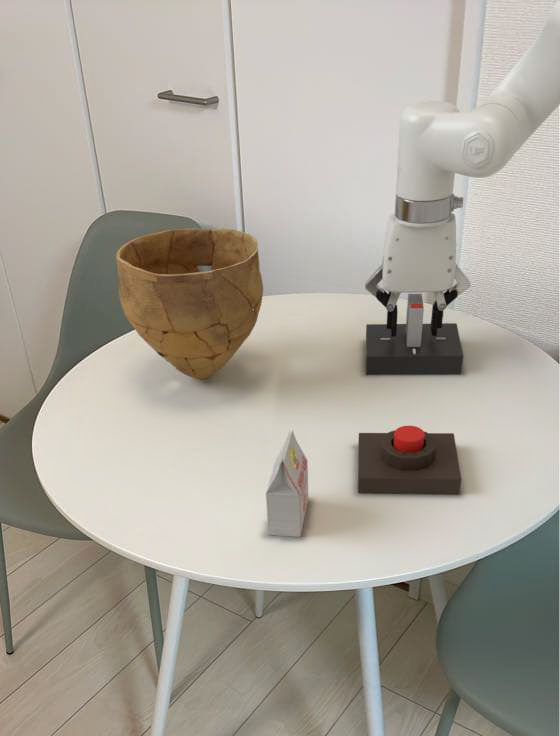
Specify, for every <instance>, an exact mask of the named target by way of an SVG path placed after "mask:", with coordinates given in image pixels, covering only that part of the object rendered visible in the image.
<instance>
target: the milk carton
mask: <svg viewBox="0 0 560 736" xmlns="http://www.w3.org/2000/svg"><path fill="white" fill-rule="evenodd" d="M308 465H309V464H308V458H307V457H306V455H305V453H304V452H303V450H302V447H301V446H300V445H299V442H298V441H297V438H296V436H295V432H294V429H292V430H290V429H289V430H288V434H287V436H286V439H285V441H284V443H283V445H282V447H281V448H280V450H279V452H278V454H277V455H276V457H275V460H274V465H273V467H272V472H271V475H270V478H269V482H268V484H267V488H266V492H265V500H266V516H267V530H268V536H279V537H293V538H302V532H303V527H304V523H305V519H306V514H307V509H308V505H309V469H308V468H309V467H308Z"/></svg>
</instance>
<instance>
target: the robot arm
mask: <svg viewBox="0 0 560 736" xmlns="http://www.w3.org/2000/svg"><path fill="white" fill-rule="evenodd" d="M559 106H560V0H557V1H556V3H555V4H554V6H553V7H552V8H551V10H550V11H549V13H548V15H547V16H546V19H545V21H544V23H543V25H542V28H541V30H540V31H539V32H538V34H537V36H536V38H535V39H534V41H533V42H532V43H531V45H529V47H528V48H527V50H526V51H525V52H524V54H523V55H522V56H521V57H520V58H519V60H518V61H517V62H516V63H515V65H514V66H513V67H512V68H511V69H510V71H508V73H507V74H506V75H505V76H504V77H503V78H502V80H501V81H500V82H499V83H498V84H497V86H496V87H495V88H494V89H493V90H492V92H490V94H489V95H488V96H487V97H486V98H485V100H483V101H482V102H480V104H479V105H478V106H477V107H475V108H473V109H470V110H467V111H463V112H461V111H460V110H459V108H458V107H457V106H456V105H455V104H453V103H451V102H448V101H438V100H437V101H436V100H428V101H419V102H415V103H412V104H410V105H408V106H406V107H405V108H404V109H403V111H402V112H401V114H400V117H399V127H398V129H399V130H398V147H397V164H396V165H397V166H396V167H397V168H396V182H395V183H396V186H395V203H394V213H391V214H390V215H389V217H388V220H387V224H386V228H385V229H386V230H385V235H384V242H383V252H382V261H381V262H382V263H381V264H380V266H379V267H377V269H376V270H375V271H374V272H373V273H372V274H371V275H370V276H369V278H368V279H367V280H366V281H364V282H365V283H364V289H365V290H366V291H367V292H369V294H371V295H372V296H373V297H375V298H376V300H377V301H378V302H379V303H380V304H381V305H382V306H383V307H385V309H386V324H387V329H391V337H395V336H396V330H397V324H398V304H397V303H398V300H399V298H400V296H401V293H402V294H403V293H433V294H434V297H435V301H434V302H433V304H432V307H431V319H430V324H431V334H432V335H433V336H437V328H442V323H443V321H444V320H443V319H444V311H445V310H446V309H447V307H448V306H449V305H450V304H451V303H452V302H454V301H455V300H456V299H457V298H458V296H459V295H461V294H463V293H464V292H465V291H467V290H468V289H469V288H470V287H471V281H470V279H469V278H468V276H467V275H466V274H465V272H464V271H463V270H462V269H461V267H460V266H459V265H458V264H457V263H456V260H457V220H456V215H455V213H453V212H454V210H457V209H462V208H463V206H464V197H463V196H459V195H458V196H457V195H455V193H454V186H455V178H456V177H455V176H456V174H457V175H461V176H465V177H469V178H475V179H476V178H479V179H480V178H481V179H482V178H488V177H491V176H494V175H495V174H497V173H498V172H500V171H501V170H503V168H505V166H506V165H507V164H508V163H509V162H510V160H511V159H512V158H513V157H514V156H515V154H516V153H517V152H518V151H519V150H520V149H521V148H522V147H523V146H524V144H525V143H526V142H527V141H528V140H529V139H530V137H531V136H533V134H534V133H535V132H536V131H537V130H538V129H539V128H540V127H541V125H542V124H543V123H545V121H546V120H547V119H548V118H549V117H550V116H551V115H552V114H553V113H554V111H555V110H556V109H557V108H558V107H559ZM381 281H382V287H380V286H379V285H378V284H379V283H380V282H381ZM455 281H456V283H455V284H454V282H455Z"/></svg>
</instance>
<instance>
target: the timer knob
mask: <svg viewBox="0 0 560 736" xmlns="http://www.w3.org/2000/svg"><path fill="white" fill-rule="evenodd" d="M406 305H407V306H406V318H405V324H406V341H407V347H421V336H422V324H424V323H423V322H424V311H425V306H424V300H423V294H422V293H408V294H407V304H406Z"/></svg>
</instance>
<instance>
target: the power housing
mask: <svg viewBox="0 0 560 736" xmlns="http://www.w3.org/2000/svg"><path fill="white" fill-rule="evenodd" d="M395 430H396V429H395ZM395 430H392V431H388V432H359V433H358V444H357V445H358V446H357V447H358V448H357V450H358V451H357V455H358V457H357V460H358V461H357V466H358V467H357V493H358V494H416V495H417V494H419V495H460V493H461V492H460V491H461V484H462V476H461V470H460V469H461V468H460V464H459V456H458V451H457V445H456V439H455V434H454V432H427V431H424V434H425V435H424V446H423V449H422V450H420V451H417V452H402V451H399V450H396V449H395V448H394V432H395Z"/></svg>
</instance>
